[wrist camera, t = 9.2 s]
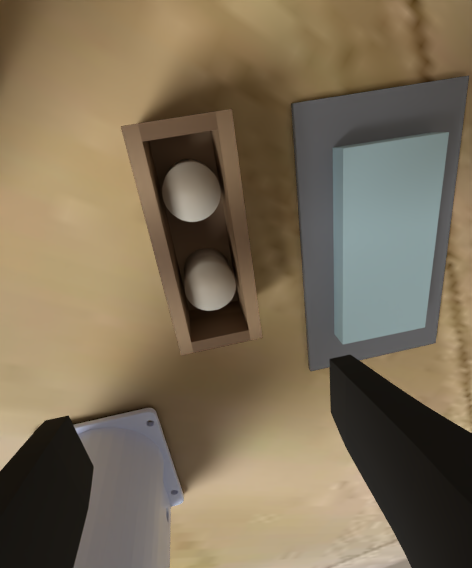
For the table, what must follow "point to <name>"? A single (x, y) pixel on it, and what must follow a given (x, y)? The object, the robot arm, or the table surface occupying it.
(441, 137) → the lid
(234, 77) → the table surface
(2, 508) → the robot arm
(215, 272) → the crate
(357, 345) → the mat
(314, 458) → the table surface
